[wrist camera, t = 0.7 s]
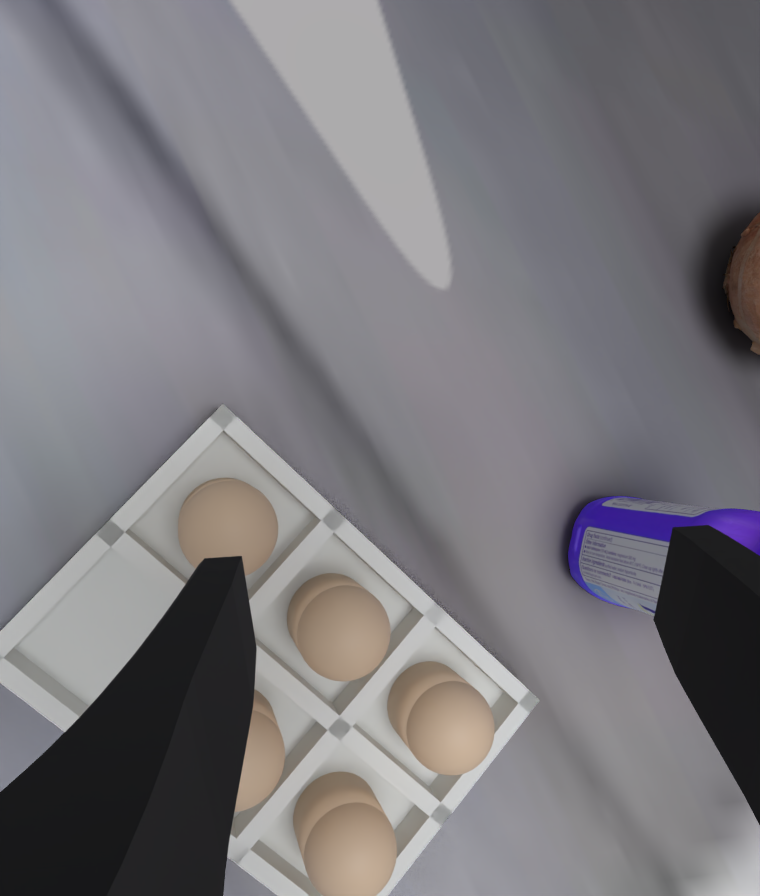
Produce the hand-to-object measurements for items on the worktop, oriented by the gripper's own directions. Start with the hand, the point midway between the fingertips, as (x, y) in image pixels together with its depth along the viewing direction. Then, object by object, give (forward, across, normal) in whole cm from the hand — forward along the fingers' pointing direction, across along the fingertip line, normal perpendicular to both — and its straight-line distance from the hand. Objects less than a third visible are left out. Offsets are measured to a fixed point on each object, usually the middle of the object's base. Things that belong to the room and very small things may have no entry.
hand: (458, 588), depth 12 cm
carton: (+15, +6, +17) cm, 24 cm away
